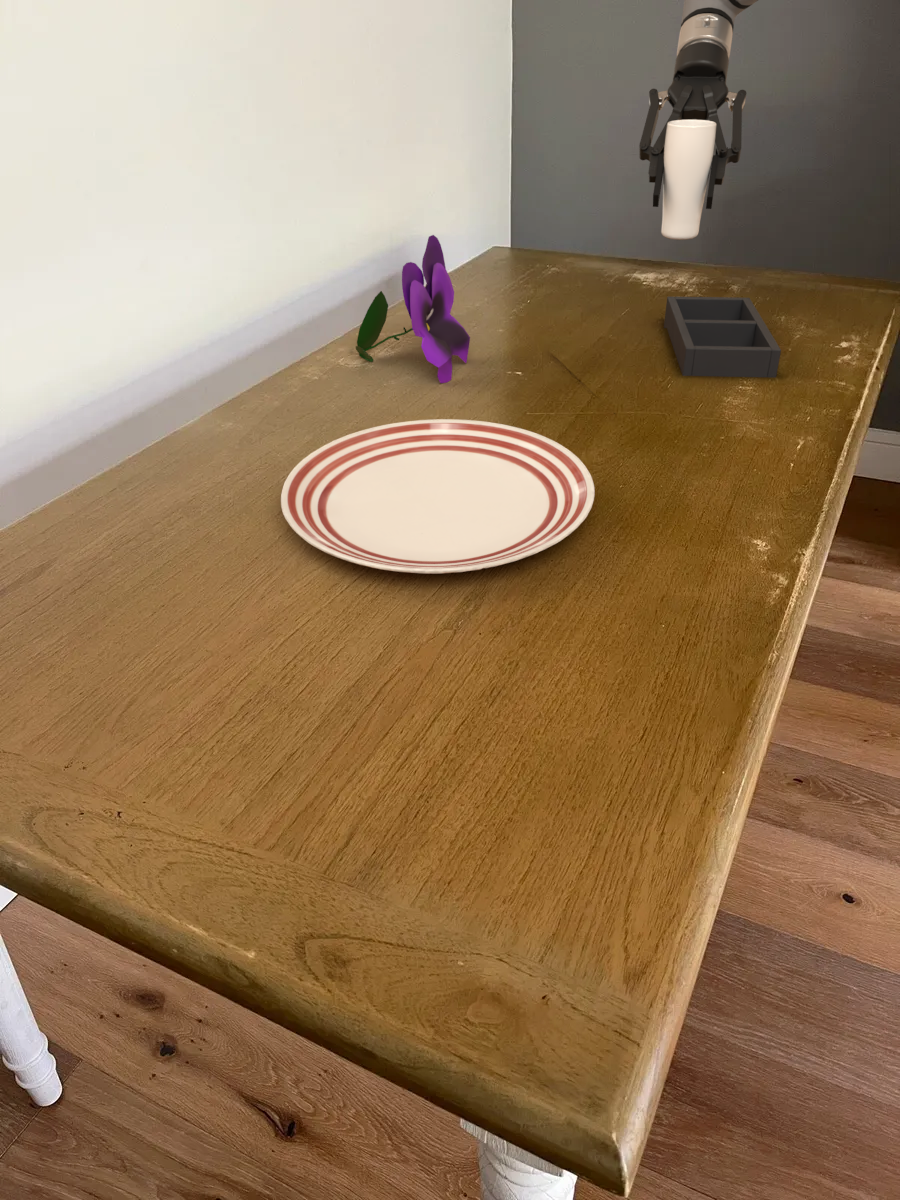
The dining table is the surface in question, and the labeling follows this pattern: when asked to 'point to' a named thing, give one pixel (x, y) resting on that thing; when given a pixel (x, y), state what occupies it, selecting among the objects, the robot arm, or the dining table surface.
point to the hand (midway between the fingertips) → (682, 201)
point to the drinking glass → (686, 176)
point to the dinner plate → (437, 495)
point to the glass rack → (720, 337)
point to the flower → (422, 313)
